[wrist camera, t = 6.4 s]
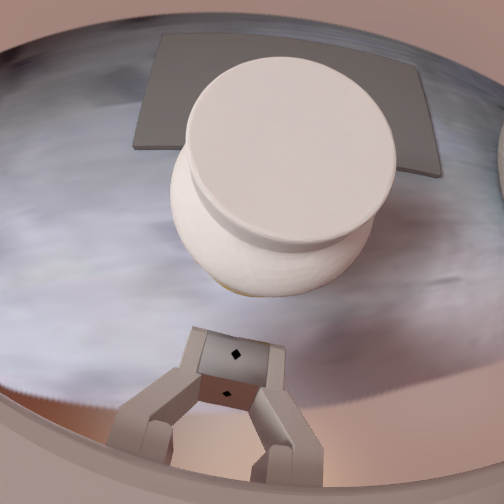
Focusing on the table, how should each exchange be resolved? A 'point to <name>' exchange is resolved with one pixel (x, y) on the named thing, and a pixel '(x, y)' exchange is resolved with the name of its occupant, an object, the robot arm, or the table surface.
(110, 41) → the table surface
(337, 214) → the supplement bottle
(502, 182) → the cereal bowl
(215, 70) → the mat
